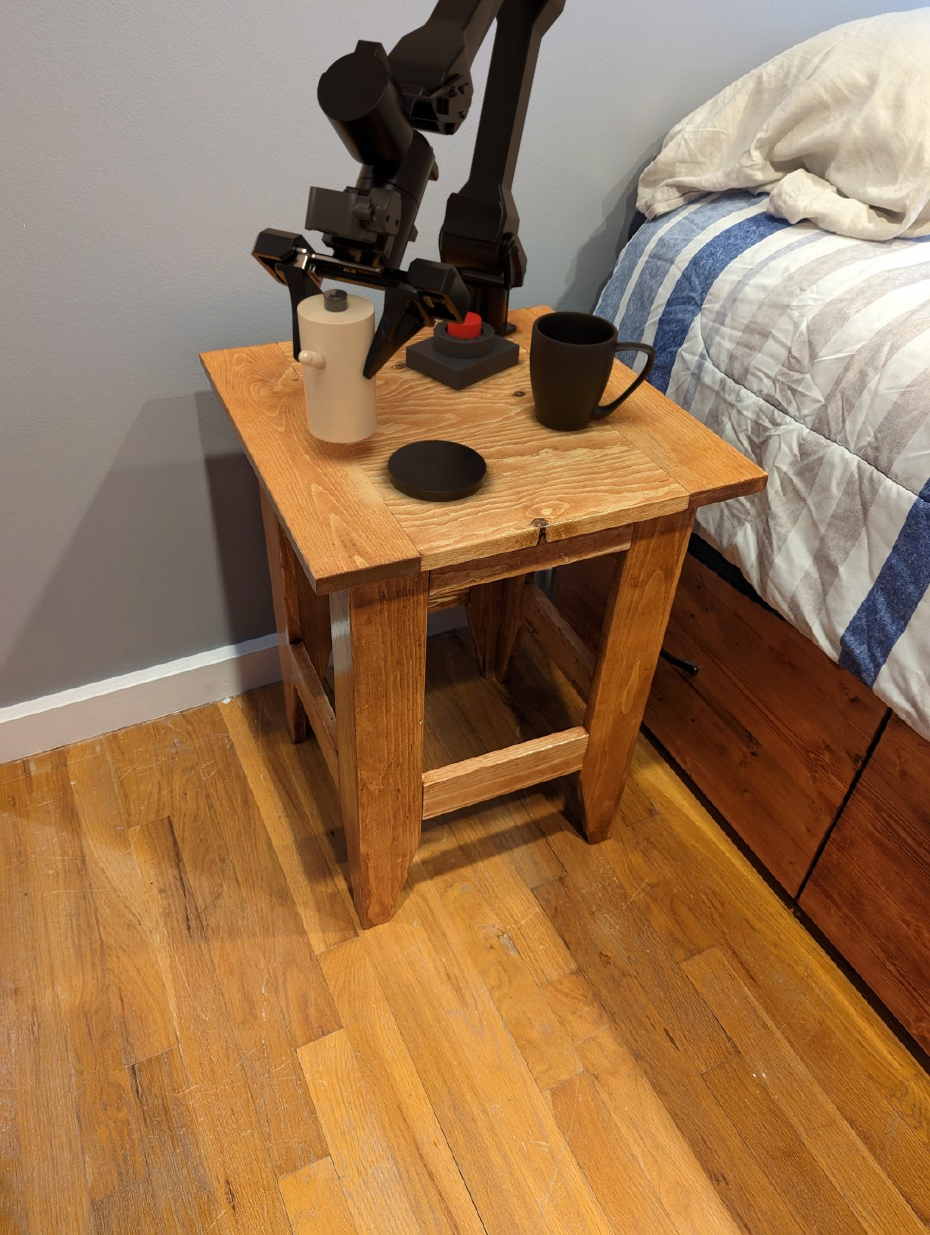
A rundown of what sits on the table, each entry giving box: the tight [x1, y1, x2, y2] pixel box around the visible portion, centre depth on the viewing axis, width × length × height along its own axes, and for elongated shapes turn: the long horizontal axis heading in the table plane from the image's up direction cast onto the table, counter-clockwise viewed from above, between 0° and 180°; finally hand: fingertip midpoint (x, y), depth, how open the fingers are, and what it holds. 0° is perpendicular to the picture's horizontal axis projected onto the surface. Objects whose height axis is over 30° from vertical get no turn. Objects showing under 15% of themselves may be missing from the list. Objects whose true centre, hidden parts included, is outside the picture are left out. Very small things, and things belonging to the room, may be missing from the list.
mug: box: [528, 310, 657, 432], centre depth 85 cm, size 8×12×10 cm
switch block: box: [405, 320, 521, 391], centre depth 95 cm, size 10×8×4 cm
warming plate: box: [387, 439, 488, 503], centre depth 79 cm, size 9×9×1 cm
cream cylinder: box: [297, 288, 378, 444], centre depth 74 cm, size 9×6×12 cm
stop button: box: [448, 312, 481, 338], centre depth 94 cm, size 4×4×2 cm
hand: (331, 369), depth 74 cm, fingers closed on cream cylinder, 6 cm apart
